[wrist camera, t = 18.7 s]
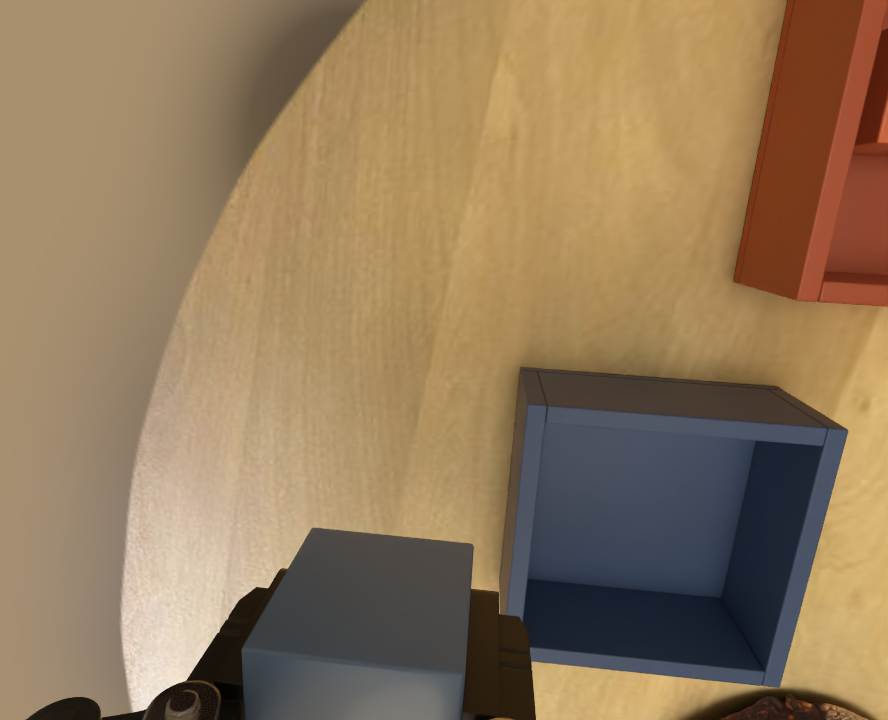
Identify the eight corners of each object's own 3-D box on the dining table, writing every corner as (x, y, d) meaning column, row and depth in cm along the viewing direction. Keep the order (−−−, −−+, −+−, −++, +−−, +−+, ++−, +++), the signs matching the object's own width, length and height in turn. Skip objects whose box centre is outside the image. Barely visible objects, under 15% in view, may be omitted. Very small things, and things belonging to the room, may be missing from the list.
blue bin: (499, 581, 31) (501, 658, 26) (520, 366, 28) (527, 404, 23) (728, 604, 31) (780, 688, 25) (778, 386, 27) (849, 429, 22)
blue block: (312, 659, 15) (247, 818, 11) (311, 525, 14) (239, 648, 10) (462, 677, 14) (450, 846, 11) (473, 542, 13) (465, 676, 10)
